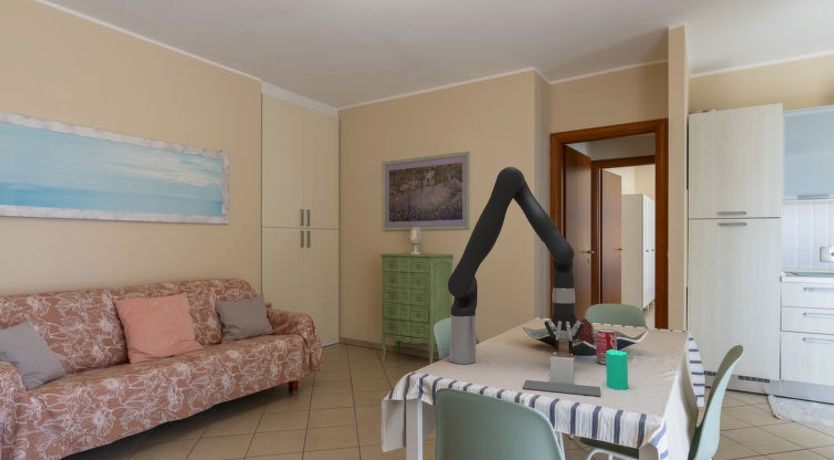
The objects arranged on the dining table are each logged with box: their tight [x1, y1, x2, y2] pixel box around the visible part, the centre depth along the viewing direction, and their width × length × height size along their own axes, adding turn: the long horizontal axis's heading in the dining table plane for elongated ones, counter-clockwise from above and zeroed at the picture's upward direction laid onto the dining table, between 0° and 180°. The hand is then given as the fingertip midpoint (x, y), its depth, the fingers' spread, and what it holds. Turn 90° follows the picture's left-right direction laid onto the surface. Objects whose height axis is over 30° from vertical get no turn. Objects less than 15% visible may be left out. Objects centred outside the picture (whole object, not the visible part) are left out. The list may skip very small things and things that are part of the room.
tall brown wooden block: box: [552, 336, 574, 358], centre depth 161 cm, size 19×6×4 cm, turn 160°
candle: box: [605, 346, 629, 391], centre depth 143 cm, size 6×6×12 cm
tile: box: [549, 355, 575, 385], centre depth 147 cm, size 7×2×8 cm, turn 70°
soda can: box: [595, 328, 618, 366], centre depth 170 cm, size 7×7×12 cm
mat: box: [522, 379, 602, 398], centre depth 141 cm, size 22×8×1 cm, turn 70°
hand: (564, 350), depth 162 cm, fingers closed on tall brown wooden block, 3 cm apart
